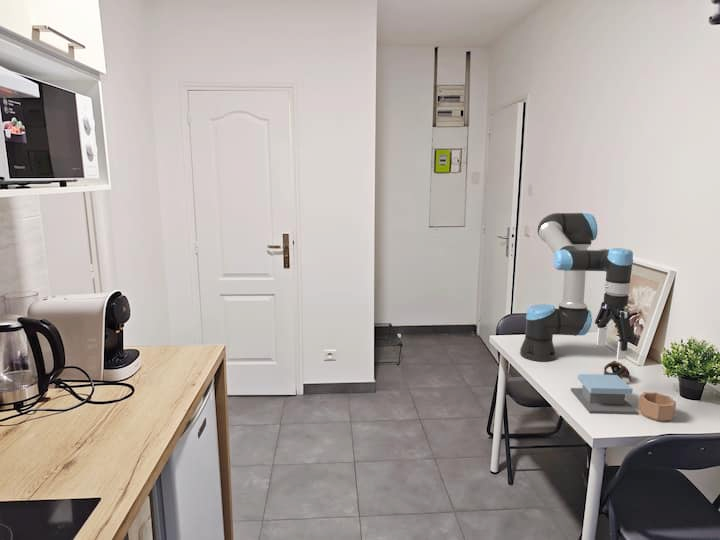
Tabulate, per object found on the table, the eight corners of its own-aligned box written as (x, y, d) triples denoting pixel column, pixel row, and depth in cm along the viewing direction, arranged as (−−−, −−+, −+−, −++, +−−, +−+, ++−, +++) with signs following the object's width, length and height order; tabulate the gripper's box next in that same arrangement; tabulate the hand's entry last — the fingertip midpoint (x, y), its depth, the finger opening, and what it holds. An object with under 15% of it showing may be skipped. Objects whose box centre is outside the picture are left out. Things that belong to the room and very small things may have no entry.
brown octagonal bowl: (633, 407, 171) (635, 391, 170) (662, 408, 171) (664, 392, 169) (648, 421, 161) (650, 405, 160) (679, 422, 161) (681, 406, 160)
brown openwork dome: (636, 386, 189) (629, 371, 187) (610, 393, 193) (603, 378, 190) (626, 367, 200) (620, 352, 197) (603, 374, 203) (596, 359, 201)
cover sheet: (577, 379, 181) (578, 374, 180) (616, 379, 180) (616, 374, 179) (590, 393, 169) (591, 388, 169) (632, 394, 168) (632, 389, 168)
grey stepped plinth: (570, 390, 185) (572, 375, 184) (613, 391, 184) (615, 376, 183) (589, 413, 167) (591, 397, 166) (637, 414, 166) (639, 398, 165)
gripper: (588, 285, 179) (583, 339, 183) (626, 303, 155) (619, 365, 159) (608, 285, 179) (602, 339, 183) (649, 302, 155) (641, 365, 159)
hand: (610, 351), depth 171 cm, fingers open, 13 cm apart
